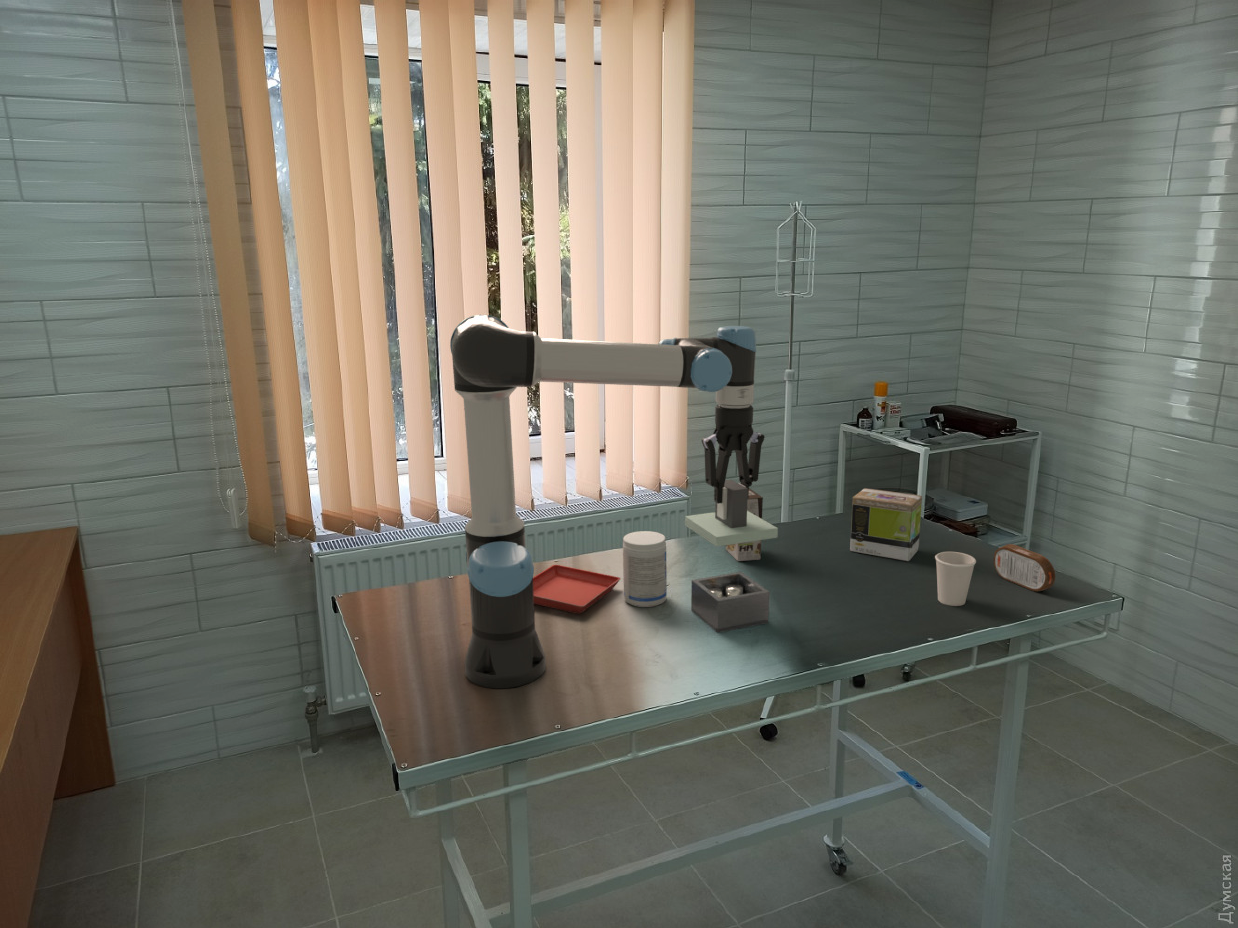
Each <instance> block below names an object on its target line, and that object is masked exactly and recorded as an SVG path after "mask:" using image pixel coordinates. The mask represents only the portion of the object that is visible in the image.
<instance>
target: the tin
mask: <svg viewBox="0 0 1238 928" xmlns="http://www.w3.org/2000/svg"><path fill="white" fill-rule="evenodd" d="M993 566H994V568H995V569H994V570H995V571H996V573H997V574H998V575H999V576H1000V577H1001V578H1002V579H1004V580H1005V581H1008V582H1010V583H1013V584H1014V585H1015V584H1016V585H1018V586H1020V587H1023V588H1025V589H1027V590H1029V591H1031V592H1041V591H1045V590H1048V589H1051V587H1053V586H1054V584H1055V582H1056V581H1055V580H1056V571H1055V569H1054V566H1053V563H1051V561H1050V560H1049V559H1048V558H1047V557H1045V555H1042V554H1040V553H1038V552H1034V551H1032V550H1029V549H1027V548H1024V547H1021V546H1019V545H1016V544H1014V543H1008V544H1005V545H1003V546H1001V547H999V548H997V549H996V550H995V552H994V553H993Z"/></svg>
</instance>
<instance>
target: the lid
mask: <svg viewBox="0 0 1238 928" xmlns="http://www.w3.org/2000/svg"><path fill="white" fill-rule="evenodd" d="M738 483H739V482H736V481H734V480H732V479H725V484H724V487H725V488H727V517H726V519H725V520H723V519H721V518H720V517H718V516H717V503H716V502H715V504H714V505H715V507H714V509H715V511H714V512H707V513H698V514H692V515H691V514H690V515H685V516H684V526H685V527H687V528H688V529H690V530H691V531H693V532H694V533H696V534H697V535H699V536H700V537H701V538H703V539H704V540H706V541H708V542H709V543H711V544H712V545H714V546H715V547H722V546H723V547H724V546H726V545H731V544H737V543H744V542H751V541H758V540H761V541H763V540H769V539H770V540H771V539H777V538H778V535H779V534H778V533H779V528H778V527H776V526H774V525H773V524H772V523H769V522H768V521H766V520H765V519H763V518H762V519H761V518H759V517H757V516H756V515H754V514H752V513H750V512H749V511H747V500H748V488H746V487H744V486H742V485H740V484H741V483H740V484H738Z"/></svg>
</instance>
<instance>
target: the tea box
mask: <svg viewBox="0 0 1238 928" xmlns="http://www.w3.org/2000/svg"><path fill="white" fill-rule="evenodd" d="M922 502H923V495H920V494H919V495H918V494H912V493H902V492H897V491H896V492H895V491H889V490H881V489H873V488H868V487H867V488H866V487H864V488H863V489H861V490H860V491H859V492H858V493H857V494H855V495H854V496H852V504H851V505H852V506H851V507H852V508H851V519H850V520H851V523H850V524H851V525H850V540H849V541H850V542H849V543H850V545H849V546H850V547H849V550H850V552H853V553H854V552H855V553H861V554H866V555H872V556H877V557H882V558H887V559H888V558H889V559H892V560H893V559H894V560H899V561H904V562H910V561H911V559H912V558H913V557H914V556H915V554H916V553H917V552H918V551H919V546H920V533H921V518H922V507H923V506H922Z"/></svg>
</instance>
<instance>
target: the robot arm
mask: <svg viewBox="0 0 1238 928" xmlns="http://www.w3.org/2000/svg"><path fill="white" fill-rule="evenodd" d="M756 343H757V339H756V332H755V330H754V328H752V327H750V326H745V325H727V326H724V325H723V326H720V327H718V329H717V334H716V336H713V337H694V338H693V337H691V338H690V337H689V338H688V337H686V338H677V337H674V338H666V339H661V340H660V341H659V342H658V344H656V343H655V344H654V343H642V342H641V343H639V342H638V343H637V342H619V341H618V342H617V341H602V340H601V341H600V340H599V341H598V340H583V339H582V340H581V339H566V338H565V339H563V338H561V339H559V338H543V337H540V336H539V335H538V334H537V333H536V332H535V331H523V330H518V329H513V328H509V326H508V325H507V323H505V322H504V321H503V320H501V319H500V318H498V317H496V316H493V315H491V314H490V315H489V314H488V315H487V314H475V315H472V316H469V317H467V318H464V319H463V320H462V321H461V322H459V324H458V325H457V326H455V329H454V330H453V332H452V334H451V337H450V342H449V344H450V345H449V346H450V353H451V357H452V369H453V383H454V384H453V385H454V386H453V387H454V391H455V392H456V393H457V394H458V395H460V397H461V398H462V399H463V407H464V408H463V410H464V423H465V436H466V437H465V438H466V450H467V451H466V452H467V466H468V468H467V469H468V478H469V479H468V480H469V493H470V494H469V495H470V508H471V519H470V520H469V521H468V522H467V523H465V525H464V534H465V536H464V537H465V547H466V551H465V561H466V566H467V576H468V585H469V596H470V597H469V598H470V601H469V602H470V615H471V616H470V617H471V630H472V631H471V637H470V641H469V643H468V647H467V650H466V654H465V658H464V674H465V677H466V678H467V679H468V680H469V682H471V683H473V684H475V685H477V686H481V687H484V688H489V689H510V688H515V687H517V688H518V687H520V686H524V685H528V684H529V683H532V682H534V681H535V680H537V679H538V678H539V679H540V677H541V676H542V675H543V674H544V672H545V671H546V668H547V667H546V666H547V665H546V653H545V651H544V648H543V646H542V643H541V641H540V637H539V635H538V633H537V630H536V624H535V621H536V620H535V619H536V618H535V617H536V616H535V604H534V590H533V577H534V574H535V567H534V563H533V557H532V554H531V552H530V551H529V550H528V549H527V548H526V547H527V546H526V533H525V532H526V530H525V522H524V520H523V519H522V518H521V517H519V515H517V507H516V491H515V476H514V475H515V474H514V472H515V471H514V455H513V437H512V421H511V419H512V418H511V405H510V396H511V395H512V393H514V391H515V390H516V389H517V388H533V387H535V386H536V384H537V383H539V382H541V383H561V384H562V383H566V384H592V385H593V384H594V385H595V384H596V385H617V386H618V385H620V386H621V385H623V386H646V387H647V386H648V387H671V388H674V387H676V388H682V389H683V388H687V389H690V388H691V389H698V390H700V391H702V392H706V393H715V403H716V404H717V405H716V406H715V409H714V410H715V412H714V414H715V415H714V423H715V428H714V431H713V433H712V435H710V436H708V437H706V436H705V437H702V438H701V443H702V446H703V449H704V473H705V475H704V477H705V478H704V479H705V483H706V484H707V485H708V486H711V487H712V488H714V490H713V501H714V502H715V504H716V503H717V516H718V517H720V518H721V519H723V520H725V519H726V517H727V488H725V487H724V484H725V480H727V473H728V469H729V468H728V467H729V463H730V457H731V456H732V454H733V451H734V452H735V456H736V457H735V458H736V464H737V472H738V479H739V482H737V483H738V484H740V485H742V486H744V487H746V488H748V497H749V488H751V486H752V485H753V482H758V481H759V473H760V462H761V452H762V445H763V443H764V441H765V438H766V437H765V435H764V434H762V433H760V432H756V431H754V428H753V427H752V425H753V422H754V407H753V405H752V404H754V390H755V371H756V370H755V369H756V353H757V345H756ZM749 441H750V443H749ZM716 442H717V443H716ZM748 443H749V444H750V445H749V450H748ZM717 444H718V449H717V452H716V448H715V447H716V446H717ZM748 451H749V453H748ZM716 453H718V457H717V456H716ZM716 457H717V458H716ZM716 459H717V460H716Z"/></svg>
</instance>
